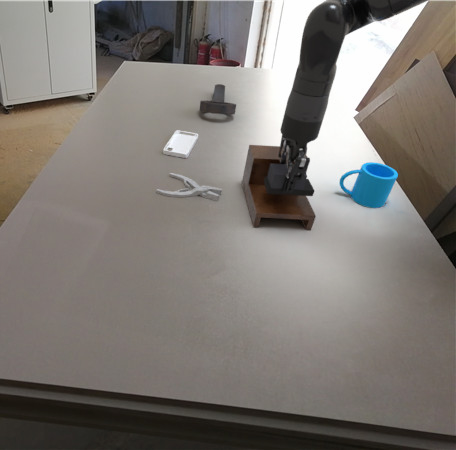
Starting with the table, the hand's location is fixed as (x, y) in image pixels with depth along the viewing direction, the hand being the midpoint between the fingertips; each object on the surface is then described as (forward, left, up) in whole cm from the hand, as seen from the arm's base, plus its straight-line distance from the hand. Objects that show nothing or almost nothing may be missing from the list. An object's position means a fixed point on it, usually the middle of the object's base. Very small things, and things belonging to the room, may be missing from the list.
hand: (284, 185), depth 91 cm
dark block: (-1, 0, -1) cm, 1 cm away
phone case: (+22, -33, -8) cm, 40 cm away
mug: (-23, -9, -8) cm, 26 cm away
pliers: (+20, -8, -8) cm, 23 cm away
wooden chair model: (0, -3, -8) cm, 9 cm away
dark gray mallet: (+8, -66, -8) cm, 67 cm away
